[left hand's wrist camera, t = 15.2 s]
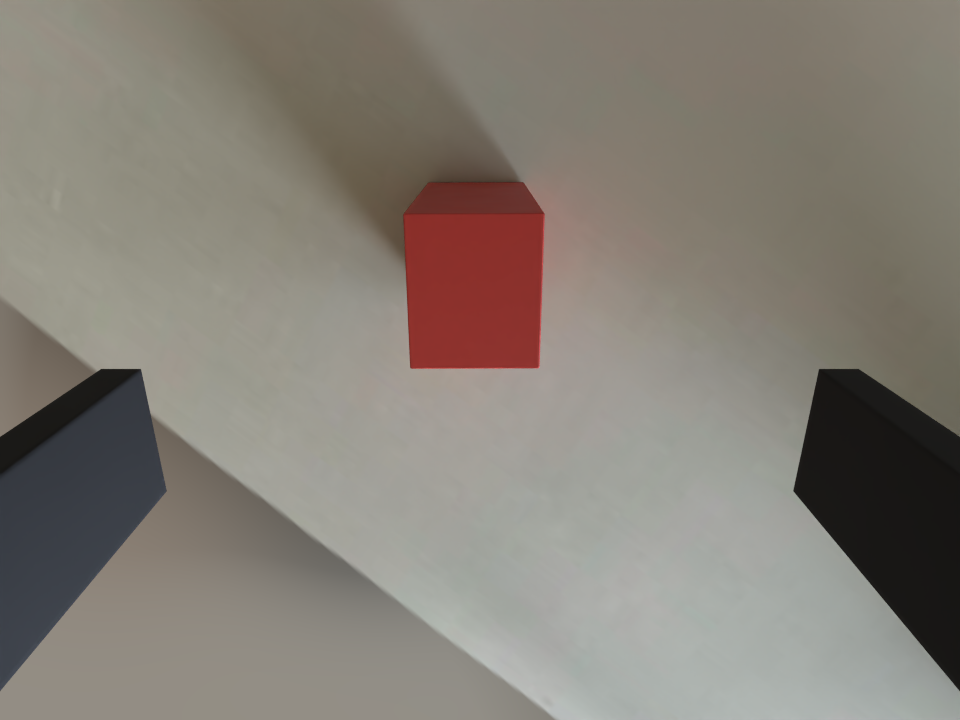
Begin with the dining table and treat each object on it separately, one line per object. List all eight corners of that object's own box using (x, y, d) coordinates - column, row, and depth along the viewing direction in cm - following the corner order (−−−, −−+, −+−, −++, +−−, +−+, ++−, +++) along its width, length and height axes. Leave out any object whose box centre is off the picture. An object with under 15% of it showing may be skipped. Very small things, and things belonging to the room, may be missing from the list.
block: (521, 292, 34) (539, 368, 24) (431, 292, 34) (410, 368, 24) (523, 182, 32) (545, 213, 22) (427, 182, 32) (403, 213, 22)
